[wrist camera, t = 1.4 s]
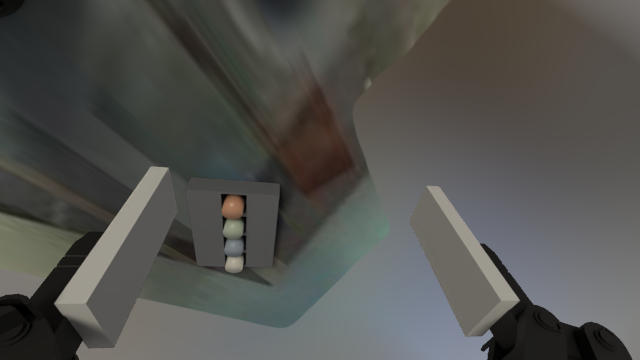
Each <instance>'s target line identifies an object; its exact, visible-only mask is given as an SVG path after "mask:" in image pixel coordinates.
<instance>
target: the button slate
mask: <svg viewBox="0 0 640 360" xmlns="http://www.w3.org/2000/svg"><path fill="white" fill-rule="evenodd" d="M244 240H245V238H244V237H243V236H241V237H240V238H239V239H228V238H227V240H226V244H225V249H224V253H225V254H226V255H227V256H230V257H238V256H240V255H241V254H242V253H243V247H244Z"/></svg>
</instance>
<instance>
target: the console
mask: <svg viewBox="0 0 640 360" xmlns="http://www.w3.org/2000/svg"><path fill="white" fill-rule="evenodd" d="M185 190H186V196H187V203H188V209H189V215H190V222H191V228H192V234H193V241H194V247H195V253H196V260H197V266H225V265H226V261H227V255H226V254H225V253H224V249H225V244H226V240H227V238H226V237H225V236H224V235H223V230H224V225H225V221H226V217H224V216H223V215H222V207H223V204H224V200H225V194H233V195H247V201H245V203H244V208H243V214H242V216H241V217H247V219H246V220H245V223H244V229H243V234H242V236H246V237H244V238H245V240H244V247H243V253H244V255H245V256H244V263H243V267H272V265H273V255H274V245H275V235H276V225H277V215H278V205H279V195H280V184H278V183H265V182H251V181H237V180H223V179H209V178H195V177H191V179H190V181H189V183H188V185H187V187H186V189H185Z"/></svg>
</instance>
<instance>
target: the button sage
mask: <svg viewBox="0 0 640 360" xmlns="http://www.w3.org/2000/svg"><path fill="white" fill-rule="evenodd" d="M244 223H245V220H244V218H243V217H240V218H238V219H234V220H232V219H228V218H226V221H225V225H224V230H223V235H224V236H225V237H226V238H228V239H239V238H240V237H241V236H242V234H243V229H244Z"/></svg>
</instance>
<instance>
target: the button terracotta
mask: <svg viewBox="0 0 640 360" xmlns="http://www.w3.org/2000/svg"><path fill="white" fill-rule="evenodd" d="M244 203H245V199H244V197H243V196H242V195H233V194H228V195H227V196H226V197H225V200H224V204H223V207H222V215H223V216H224V217H226V218H228V219H232V220H234V219H238V218H240V217H241V216H242V214H243V208H244Z"/></svg>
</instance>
